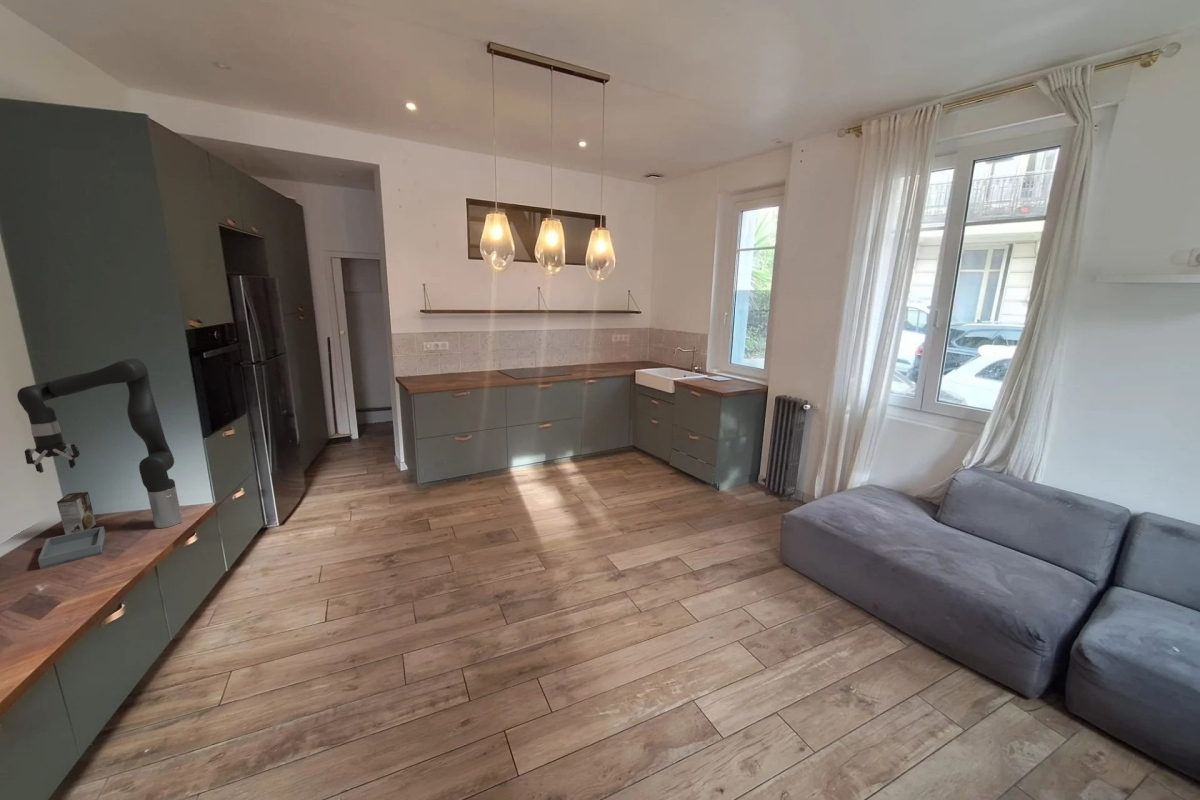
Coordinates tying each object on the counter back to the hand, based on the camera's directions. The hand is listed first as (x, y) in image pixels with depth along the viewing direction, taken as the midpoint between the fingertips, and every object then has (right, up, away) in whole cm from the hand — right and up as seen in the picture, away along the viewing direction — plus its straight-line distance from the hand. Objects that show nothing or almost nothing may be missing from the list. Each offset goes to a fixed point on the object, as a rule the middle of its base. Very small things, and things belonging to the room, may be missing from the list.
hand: (57, 469), depth 192 cm
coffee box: (-1, -28, +10) cm, 30 cm away
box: (+14, -32, -6) cm, 36 cm away
